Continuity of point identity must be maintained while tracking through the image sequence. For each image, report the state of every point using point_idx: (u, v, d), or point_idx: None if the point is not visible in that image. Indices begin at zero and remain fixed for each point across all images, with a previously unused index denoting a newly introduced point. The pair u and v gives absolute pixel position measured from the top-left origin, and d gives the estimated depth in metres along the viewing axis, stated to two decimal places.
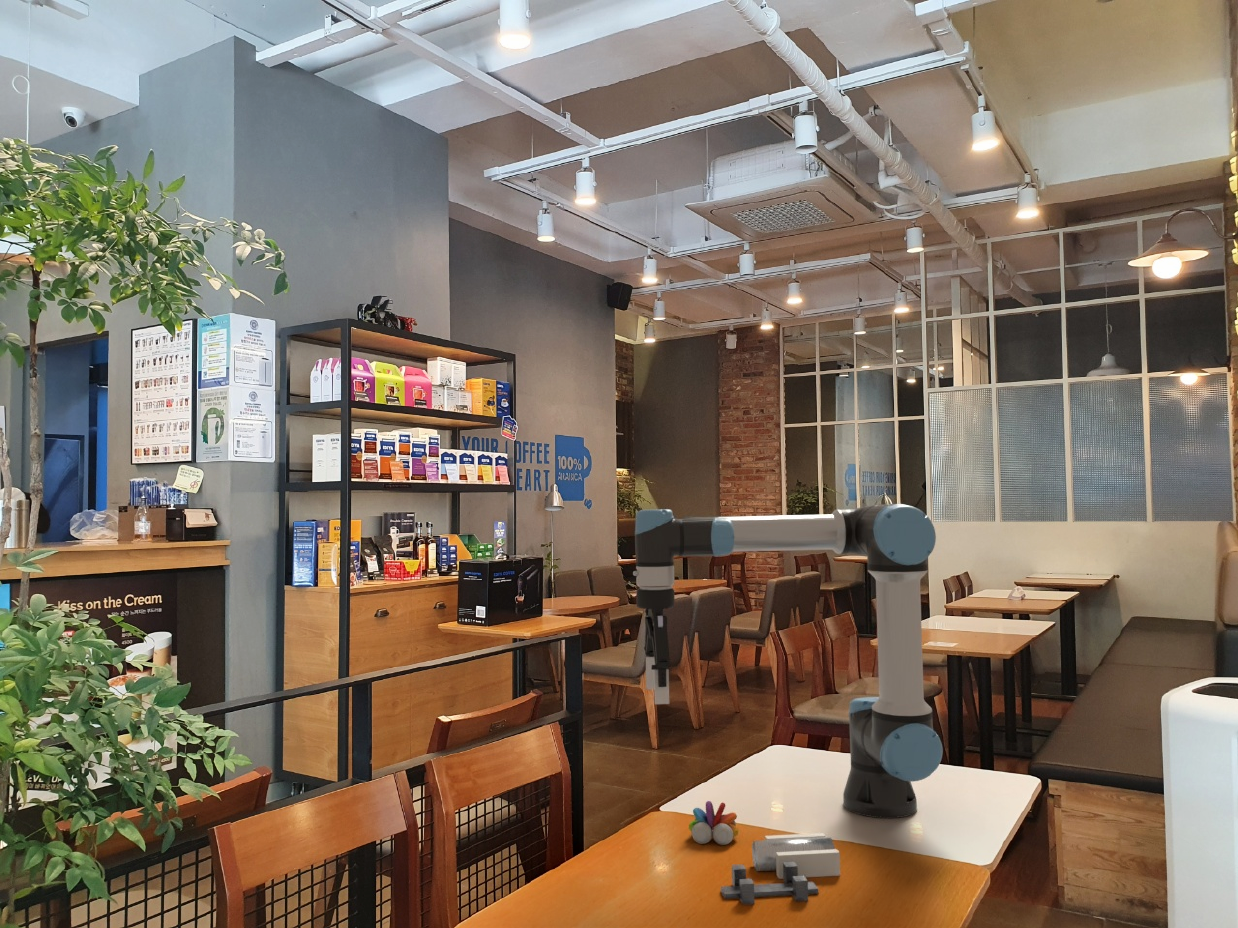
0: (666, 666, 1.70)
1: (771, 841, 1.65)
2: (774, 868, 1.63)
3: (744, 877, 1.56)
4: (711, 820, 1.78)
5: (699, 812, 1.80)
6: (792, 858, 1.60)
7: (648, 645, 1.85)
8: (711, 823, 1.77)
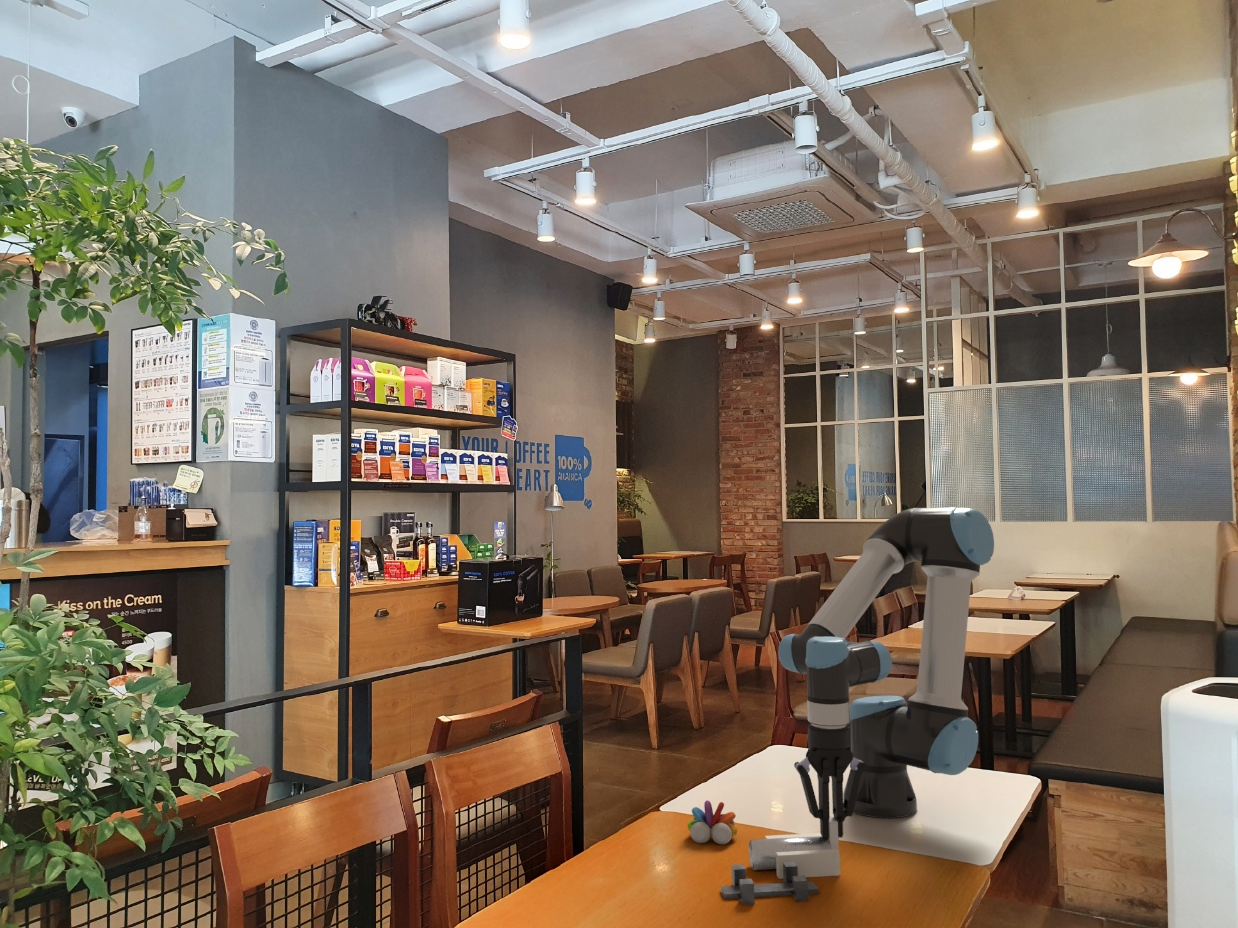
0: (813, 815, 1.65)
1: (768, 840, 1.65)
2: (771, 866, 1.63)
3: (744, 877, 1.56)
4: (710, 819, 1.78)
5: (698, 811, 1.80)
6: (792, 858, 1.60)
7: (832, 796, 1.67)
8: (710, 822, 1.78)
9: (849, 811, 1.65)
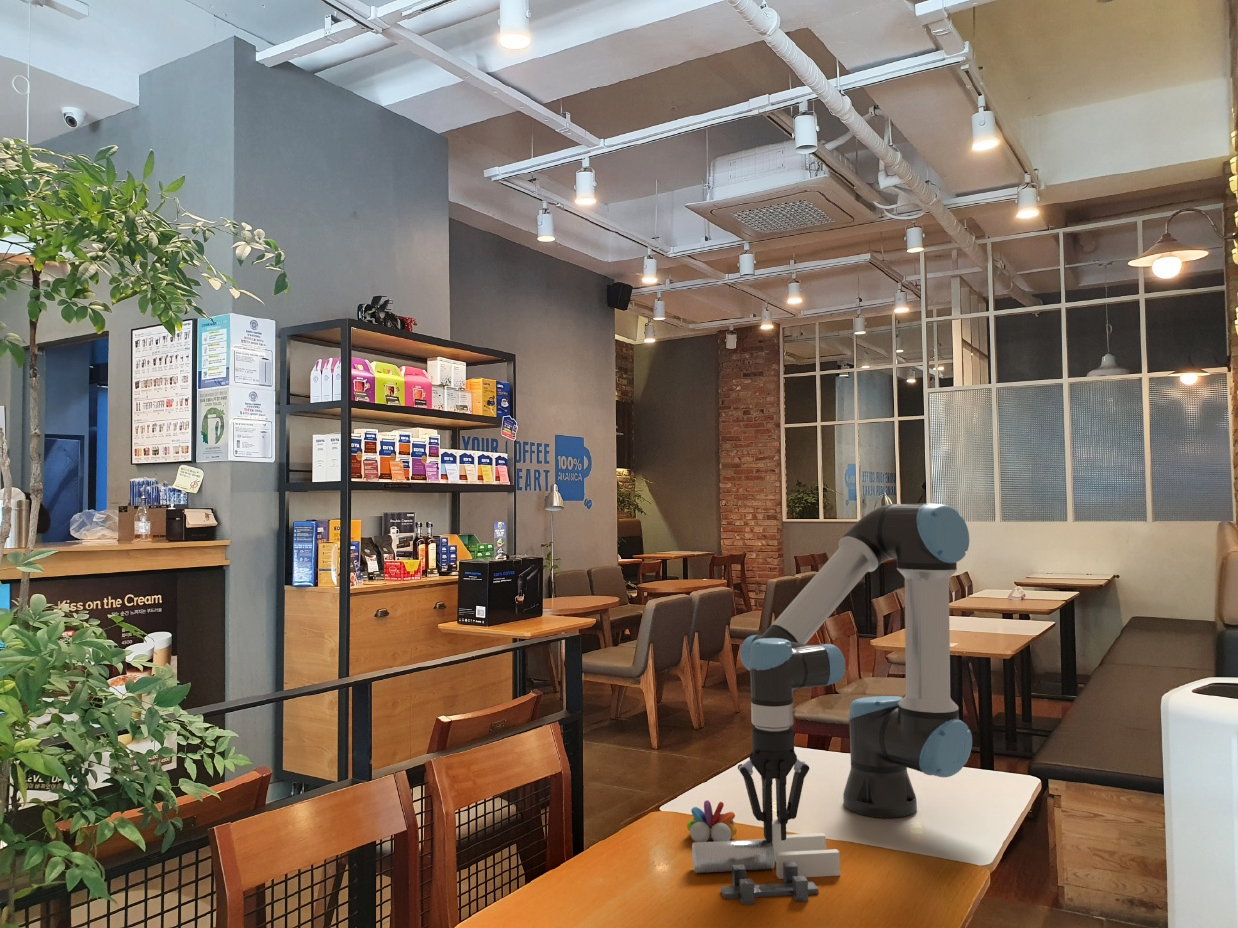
0: (756, 818, 1.64)
1: (710, 842, 1.64)
2: (713, 869, 1.62)
3: (744, 877, 1.56)
4: (709, 819, 1.78)
5: (697, 811, 1.80)
6: (792, 858, 1.60)
7: (776, 798, 1.66)
8: (709, 822, 1.78)
9: (792, 814, 1.64)
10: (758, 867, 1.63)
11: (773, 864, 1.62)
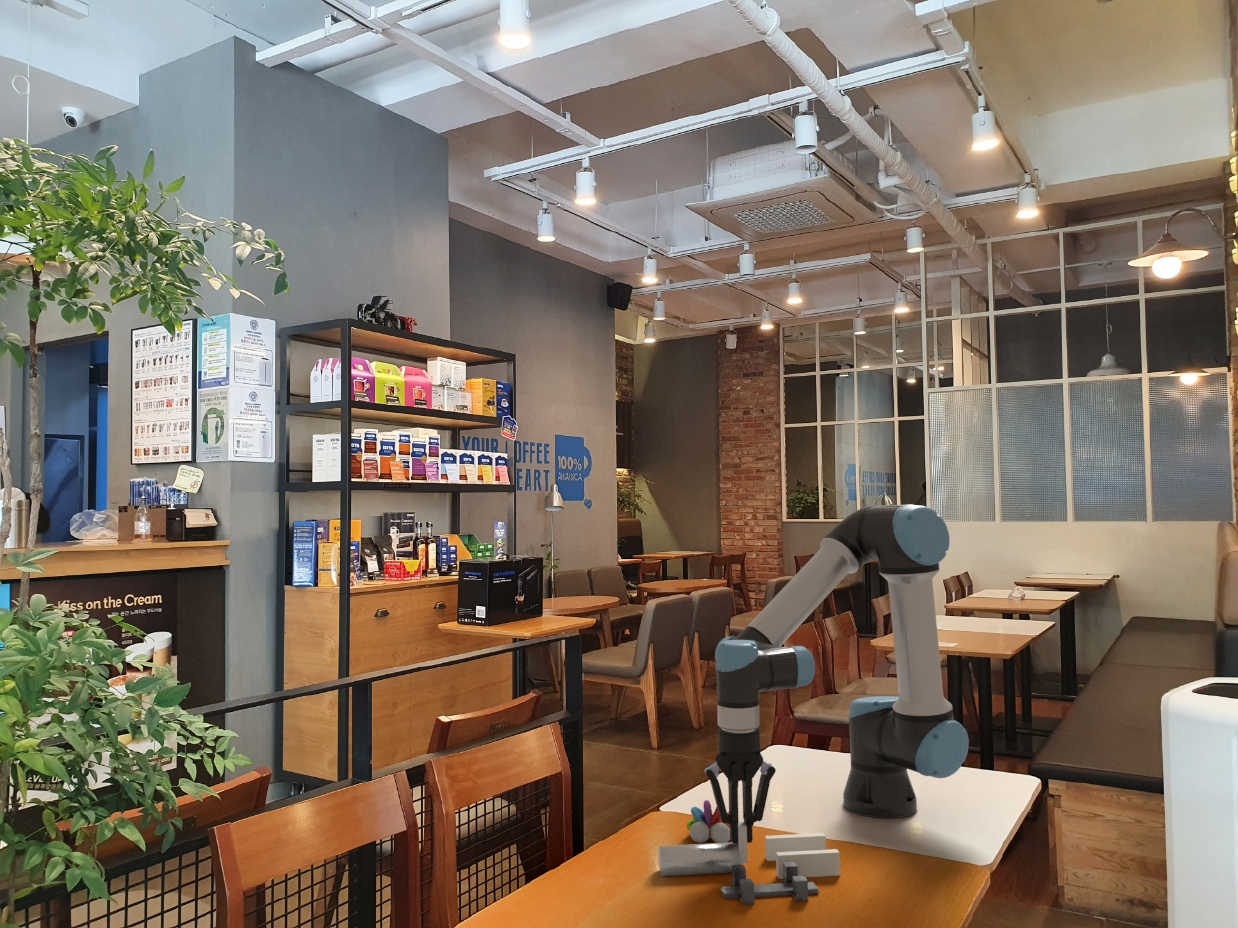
0: (722, 820, 1.64)
1: (676, 846, 1.63)
2: (678, 873, 1.61)
3: (744, 877, 1.56)
4: (709, 819, 1.78)
5: (697, 811, 1.80)
6: (792, 858, 1.60)
7: None
8: (709, 822, 1.78)
9: (758, 816, 1.63)
10: (724, 871, 1.62)
11: None
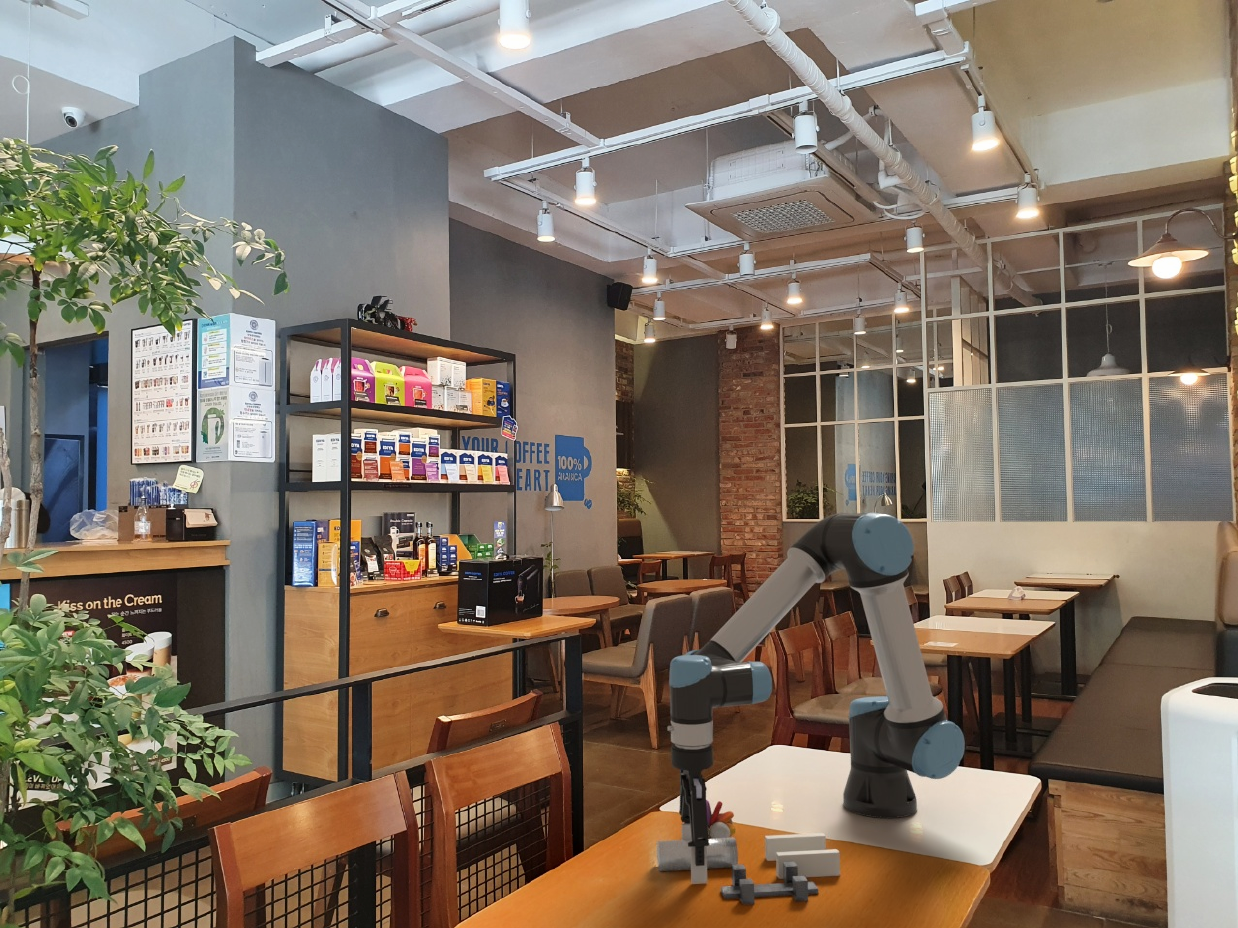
0: (704, 845, 1.56)
1: None
2: (676, 856, 1.63)
3: (744, 877, 1.56)
4: (708, 819, 1.78)
5: None
6: (792, 858, 1.60)
7: (684, 809, 1.68)
8: (708, 821, 1.78)
9: None
10: (722, 854, 1.64)
11: (736, 850, 1.64)
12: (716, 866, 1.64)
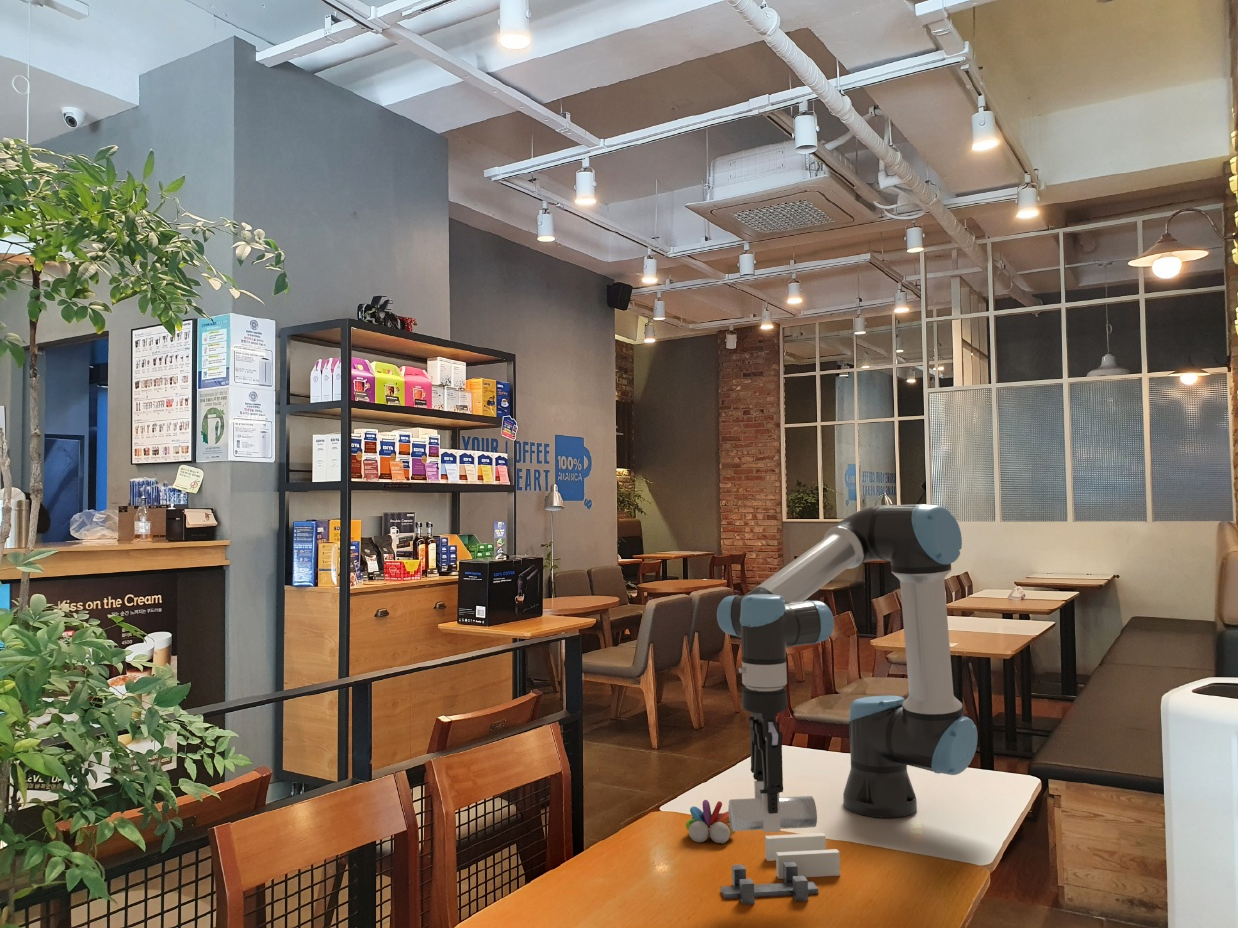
0: (778, 791, 1.49)
1: None
2: (752, 824, 1.52)
3: (744, 877, 1.56)
4: (708, 819, 1.78)
5: (696, 811, 1.80)
6: (792, 858, 1.60)
7: (757, 761, 1.58)
8: (708, 821, 1.78)
9: None
10: (800, 821, 1.53)
11: (815, 817, 1.53)
12: None
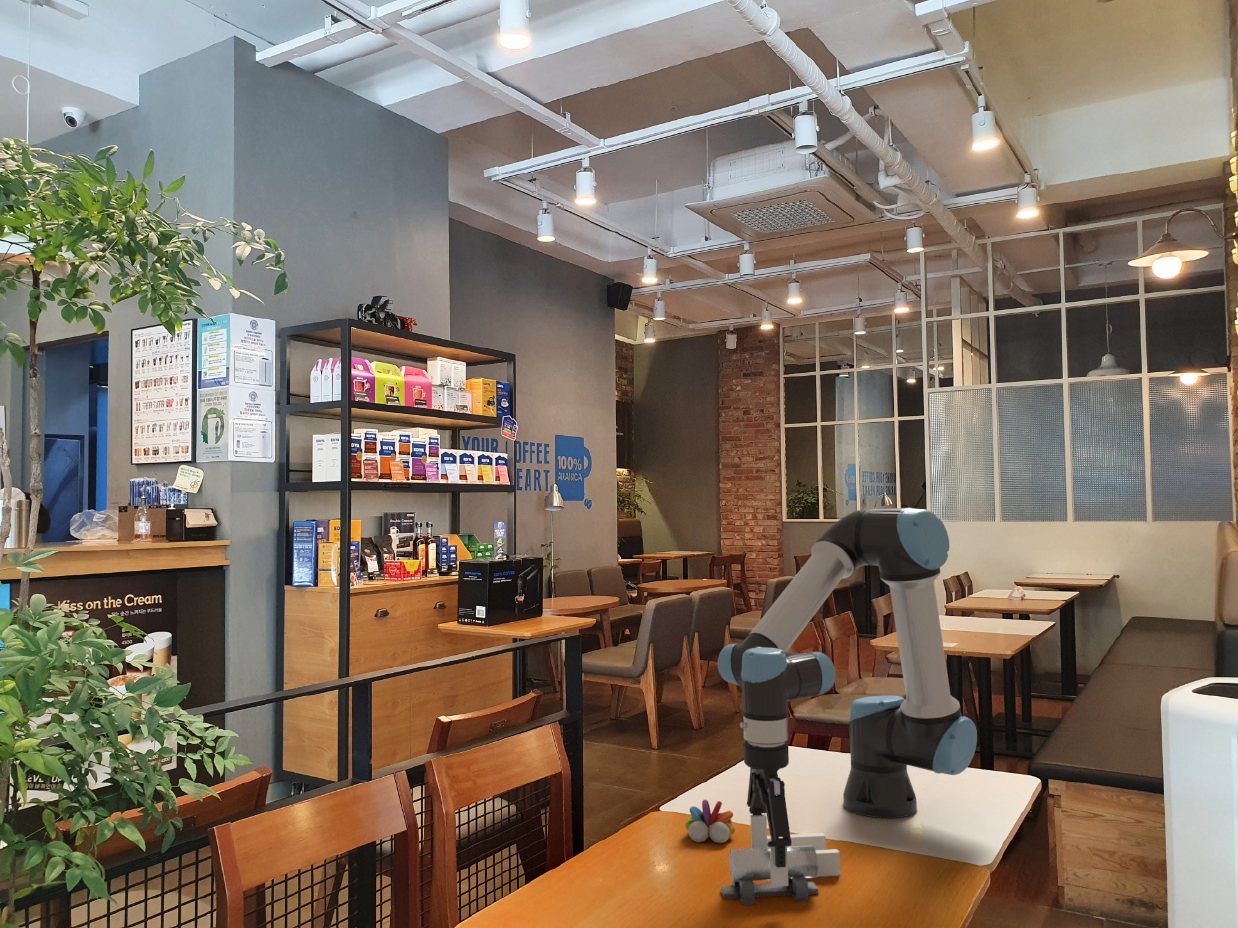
0: (787, 845, 1.45)
1: None
2: (753, 874, 1.52)
3: None
4: (708, 818, 1.78)
5: (695, 811, 1.80)
6: None
7: (754, 803, 1.60)
8: (708, 821, 1.78)
9: None
10: (801, 872, 1.53)
11: (816, 868, 1.53)
12: None
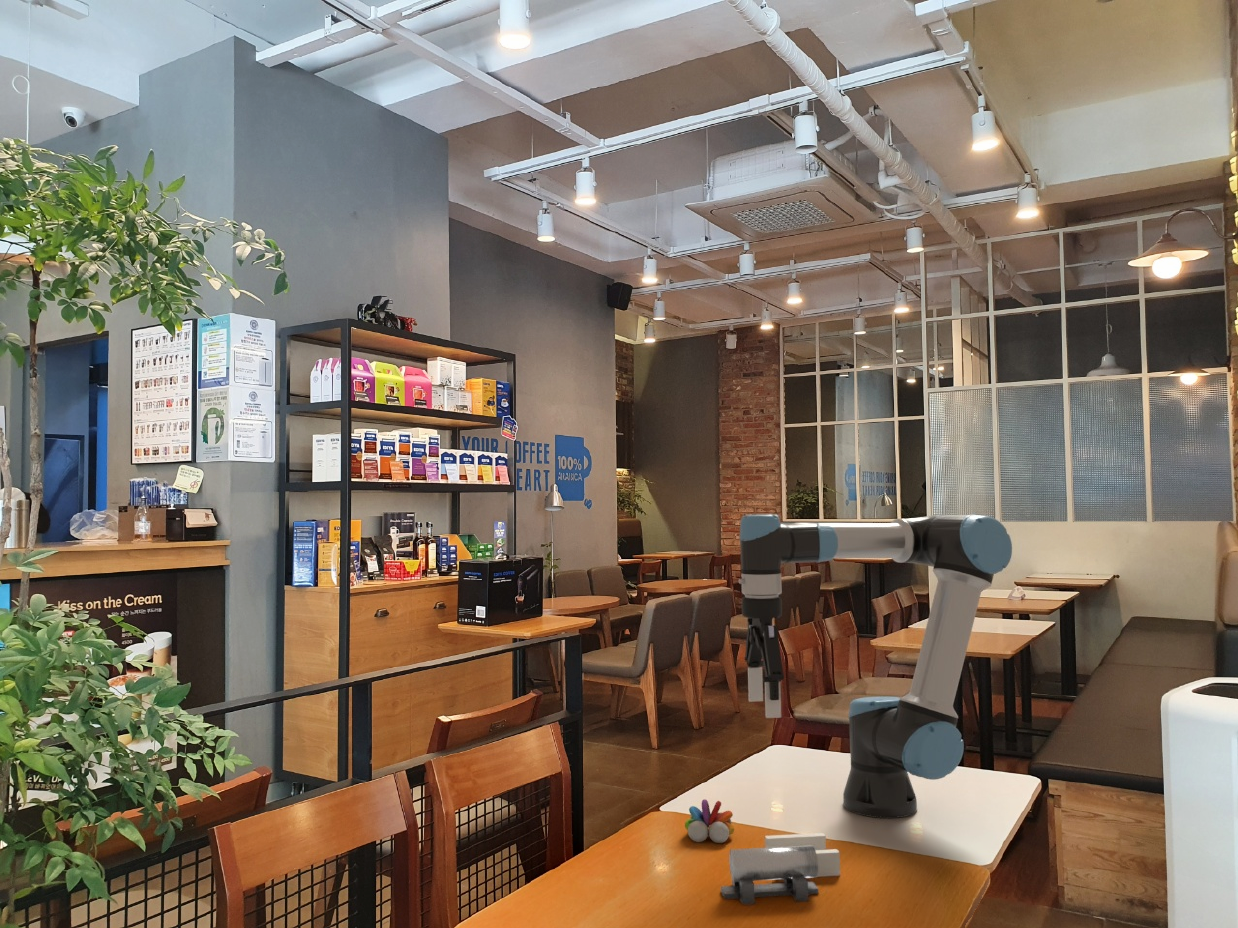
0: (780, 678, 1.63)
1: None
2: (753, 874, 1.52)
3: None
4: (707, 818, 1.79)
5: (695, 810, 1.80)
6: None
7: (751, 655, 1.78)
8: (707, 821, 1.78)
9: None
10: (801, 872, 1.53)
11: (816, 868, 1.53)
12: None
